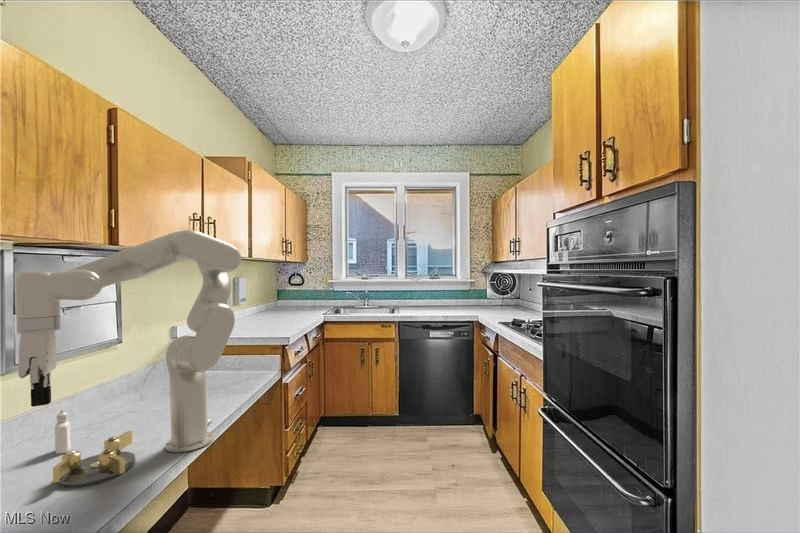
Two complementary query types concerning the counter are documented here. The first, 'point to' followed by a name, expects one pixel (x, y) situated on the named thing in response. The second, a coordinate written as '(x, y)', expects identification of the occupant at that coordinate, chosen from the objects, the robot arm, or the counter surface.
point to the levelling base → (94, 471)
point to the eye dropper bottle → (62, 433)
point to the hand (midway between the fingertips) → (41, 404)
